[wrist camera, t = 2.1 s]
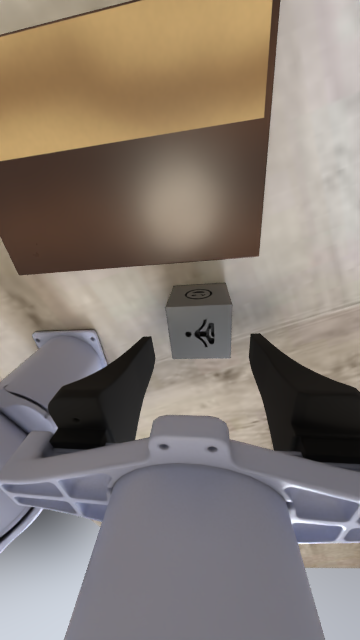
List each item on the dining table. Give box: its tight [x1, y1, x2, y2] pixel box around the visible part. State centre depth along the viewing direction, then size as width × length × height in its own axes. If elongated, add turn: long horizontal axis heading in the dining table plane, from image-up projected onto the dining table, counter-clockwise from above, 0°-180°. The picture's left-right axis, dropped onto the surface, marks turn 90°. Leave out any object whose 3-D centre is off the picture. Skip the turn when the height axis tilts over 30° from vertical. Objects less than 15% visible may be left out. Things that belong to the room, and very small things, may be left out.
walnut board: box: [0, 0, 280, 275], centre depth 15 cm, size 14×22×2 cm, turn 96°
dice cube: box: [165, 283, 232, 359], centre depth 18 cm, size 5×5×5 cm
